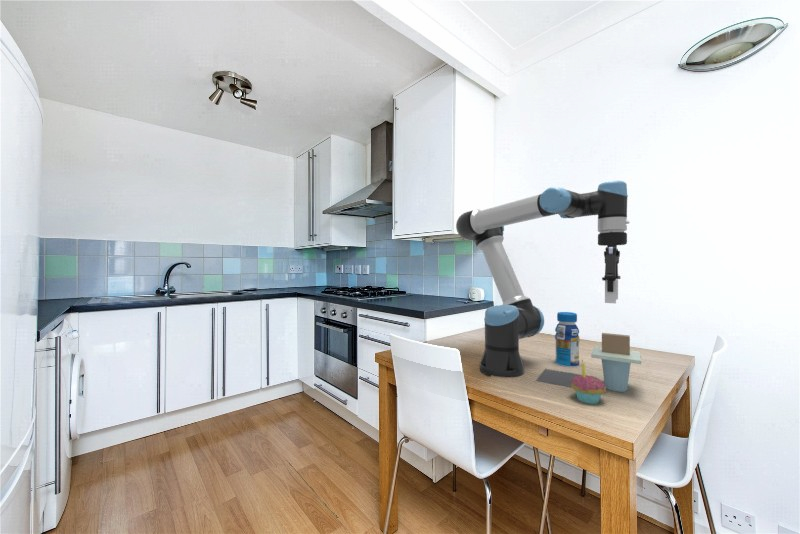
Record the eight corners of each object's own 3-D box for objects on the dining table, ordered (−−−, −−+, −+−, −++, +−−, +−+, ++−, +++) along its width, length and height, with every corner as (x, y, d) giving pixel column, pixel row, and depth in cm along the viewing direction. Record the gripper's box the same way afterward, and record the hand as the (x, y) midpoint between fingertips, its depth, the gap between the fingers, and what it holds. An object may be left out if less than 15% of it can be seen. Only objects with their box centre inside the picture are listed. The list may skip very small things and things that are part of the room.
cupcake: (591, 410, 83) (591, 364, 83) (563, 398, 91) (563, 356, 91) (612, 404, 87) (612, 360, 87) (583, 393, 94) (583, 353, 95)
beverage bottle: (552, 361, 127) (552, 311, 127) (575, 362, 125) (575, 311, 125) (558, 367, 119) (558, 314, 119) (583, 369, 117) (583, 314, 117)
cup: (637, 392, 95) (637, 357, 95) (621, 396, 92) (620, 360, 92) (611, 384, 102) (611, 351, 102) (595, 387, 99) (595, 354, 99)
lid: (591, 357, 96) (591, 335, 96) (594, 349, 106) (593, 329, 106) (641, 364, 89) (641, 341, 89) (639, 354, 99) (639, 333, 99)
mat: (535, 382, 104) (535, 380, 104) (545, 370, 116) (545, 368, 116) (588, 393, 95) (588, 391, 95) (593, 378, 107) (593, 376, 107)
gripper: (626, 227, 86) (625, 306, 86) (627, 234, 106) (627, 298, 106) (593, 229, 91) (593, 304, 91) (601, 236, 111) (600, 297, 111)
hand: (611, 301), depth 98 cm, fingers open, 13 cm apart
